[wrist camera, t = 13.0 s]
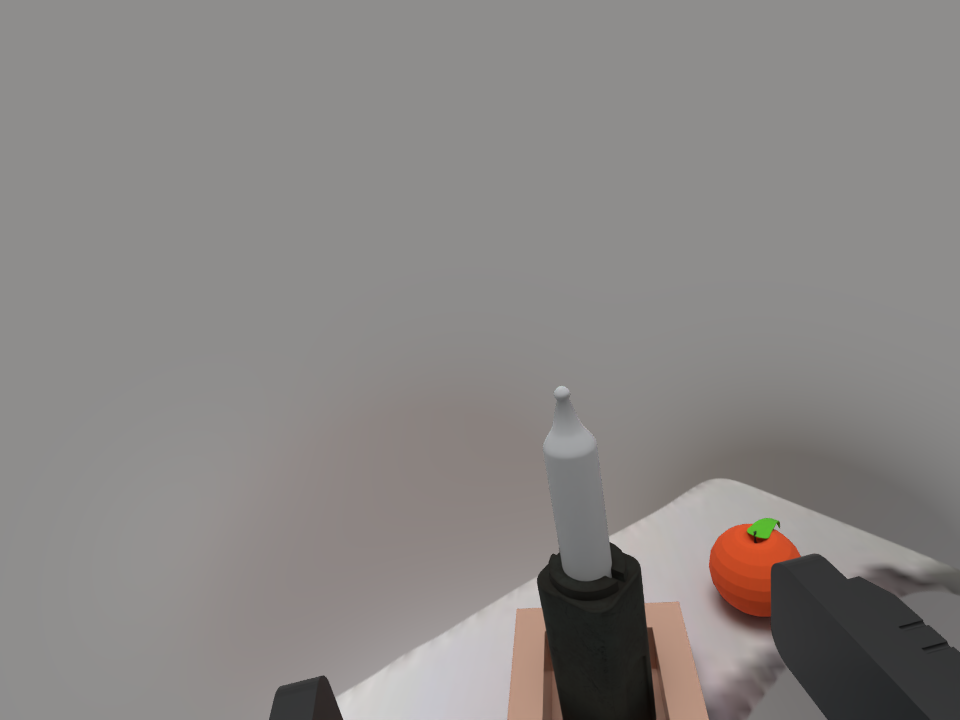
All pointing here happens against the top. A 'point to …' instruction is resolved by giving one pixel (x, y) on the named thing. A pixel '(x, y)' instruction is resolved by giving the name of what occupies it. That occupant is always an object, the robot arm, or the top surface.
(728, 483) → the top surface
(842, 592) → the robot arm
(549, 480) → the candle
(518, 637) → the holder block
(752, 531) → the clementine
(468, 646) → the top surface
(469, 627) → the top surface
